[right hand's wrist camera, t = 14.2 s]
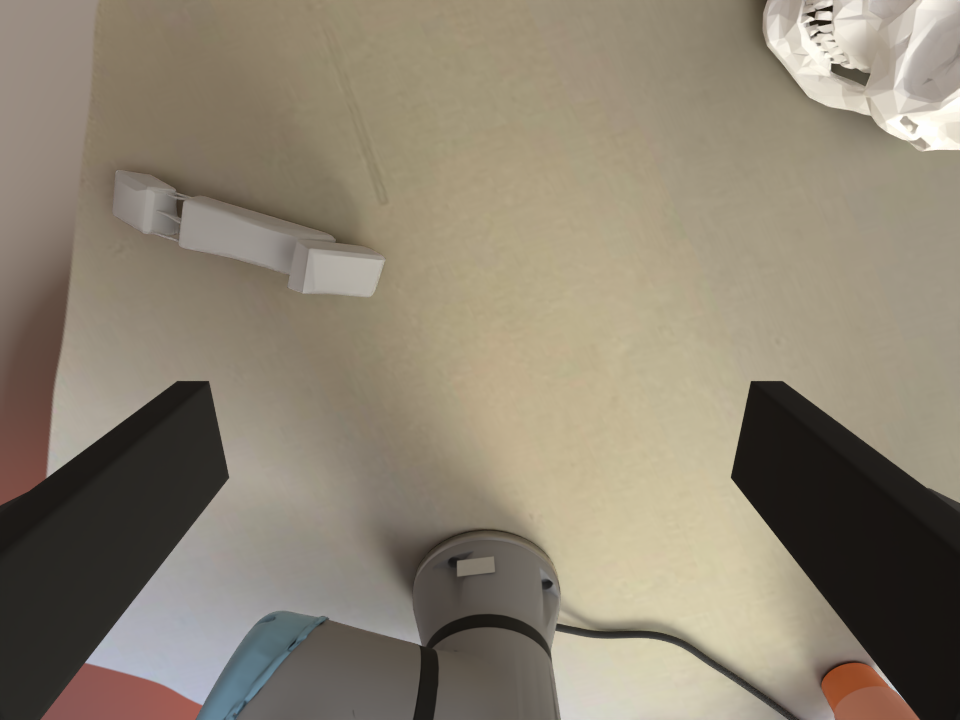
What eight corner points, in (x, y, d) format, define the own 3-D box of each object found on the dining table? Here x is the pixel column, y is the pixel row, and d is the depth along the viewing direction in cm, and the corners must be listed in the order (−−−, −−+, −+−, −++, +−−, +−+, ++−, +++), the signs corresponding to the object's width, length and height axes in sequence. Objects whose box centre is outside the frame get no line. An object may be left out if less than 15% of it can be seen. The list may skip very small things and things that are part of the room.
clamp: (390, 251, 41) (364, 265, 35) (378, 295, 42) (352, 316, 36) (149, 166, 41) (78, 164, 34) (144, 213, 42) (75, 220, 36)
